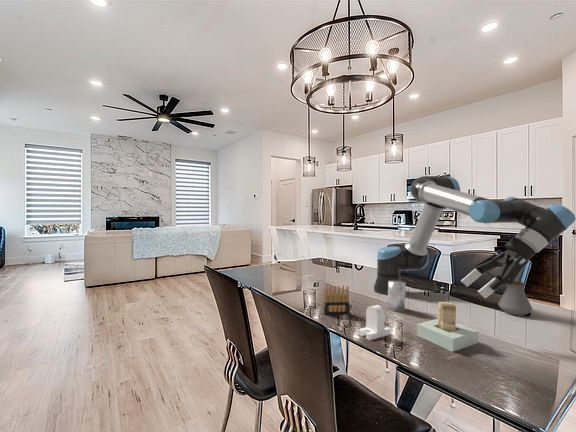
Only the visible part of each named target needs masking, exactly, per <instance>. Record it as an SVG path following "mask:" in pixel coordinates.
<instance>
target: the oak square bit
mask: <svg viewBox="0 0 576 432" xmlns="http://www.w3.org/2000/svg"><path fill="white" fill-rule="evenodd" d="M456 316H457V306H456V305H455V304H454V303H452V302H449V301H448V302H447V301H438V319H439V320H438V328H439V329H442V330H444V331H447V332H453V331H455V328H456V323H457V322H456V320H457V319H456V318H457V317H456Z"/></svg>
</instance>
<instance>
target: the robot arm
mask: <svg viewBox="0 0 576 432" xmlns="http://www.w3.org/2000/svg"><path fill="white" fill-rule="evenodd" d="M409 190H410V195H411V197H412V198H413V199H415V200H416V201H418V202H419V201H420V202H422V203H424V204H423V207H422V210H421V211H420V215H419V217H418V220H417V221H416V224H415V227H414V229H413V231H412V234H411V237H410V239H409V241H407V242H405V244H404V245H403V248H401V247H399V246H384V247H380V248H379V249H378V250H377V257H376V258H377V264H376V266H377V267H376V268H377V273H376V274H377V275H376V279H375V283H374V284H373V291H374V292H375V293H377V294H378V293H379V294H381V295H382V294H383V295H387V296H388V281H389V280H400V281H402V279H401V272H407V271H409V272H410V271H411V272H412V271H413V272H414V271H415V272H416V271H422V270H424V269H425V268H427V266H428V265H429V262H430V259H429V257H430V255H429V252H428V249H427V247H428V244H429V242H430V240H431V237H432V235H433V232H434V230H435V229H436V226H437V224H438V222H439V219H440V217H441V215H442V212H443V211H444V210H446V209H450V210H451V211H454V212H457V213H460V214H463V215H466V216H468V217H470V218H471V219H472V220H473V221H474V222H476V223H480V224H482V223H483V224H495V223H496V224H497V223H498V224H500V223H501V224H502V223H504V224H505V223H509V224H510V223H515V224H516V223H517V224H520V225H522V226H524V228H520V231H519V232H518V233H517V234H516V235H515V236H514V237H512V238H511V239H510V240H509V241H507V242H506V243H505V244H504V247H505V251H502V250H501V249H498V250H497V251H495V252H494V253H492V254H490V255H489V256H487V257H485V258H484V259H482V260H481V261H479V262H477V263H475V264H474V265H473V266H474V269H473V270H471V271H470V272H469V273H468V274H467V275H465V277H463V278H462V279H461V280H460V282H461V283H462V284H463V285H464V286H465V287H467V288H468V287H469V286H471V284H472V283H474V282H475V281H476V280H478V279H479V278H480V277H481V276H483V275H484V273H486V271H488V272H489V271H490V270H493V269H494V268H498V267H499V268H500V267H501V268H500V270H499V273H498V274H497V275H494V276H495V277H496V278H497V279H498V280H497V279H496V278H495V277H494V278H492V279H491V280H489V282H488V283H485V285H484V286H483V287H481V288H480V289H479V290H477V292H478V293H479V294H480V296H482V297H483V298H484V300H485V299H487V298H489V296H491V295H492V294H493V293H495V292H496V291H497V290H498V289H499V288H501V287H502V286H503V285H507V284H508V285H510V284H512V282H513V281H515V279H516V278H517V276H518V275H519V274H520V273H521V271H522V270H523V268H524V267H525V266H526V265H527V264H528V263H529V261H530V259H532V258H533V257H535V256H536V253H540V252H541V251H542V250H543V249H544V248H545V247H547V246H548V245H549V244H550V243H551V242H552V241H553V240H554V239H556V238H557V237H558V236H560V235H561V234H562V233H563V232H565V231H567V230H568V228H570V226H572V224H573V223H575V221H576V216H575V214H574V212H573V211H571V210H570V209H569V208H567V207H565V206H564V205H561V204H556V203H555V204H550V206H548V207H547V208H545V207H542V206H540V205H539V206H538V205H536V204H533V203H531V202H529V201H526V200H524V199H523V198H519V197H515V196H509V197H507V198H504V199H503V200H497V199H496V200H494V199H490V198H486V197H482V196H478V195H476V194H475V195H474V194H472V193H468V192H464V191H461V187H460V183H459V182H458V180H457V179H456V178H454V177H452V176H444V175H443V176H433V175H423V176H419V177H417V178H415V179H414V180H413V181H412V183H411V185H410V187H409ZM508 285H507V286H508Z"/></svg>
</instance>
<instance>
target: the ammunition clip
mask: <svg viewBox="0 0 576 432" xmlns="http://www.w3.org/2000/svg"><path fill="white" fill-rule="evenodd" d="M332 287H333V289H332ZM349 291H350V290H349V286H348V284H347V285H346V288H345V285H342V286H340V285H338V286H336V285H334V286H332V285H329V289H328V286H327V285H325V289H324V300H323V301H324V302H323V315H324V316H329V315H330V316H331V315H333V316H336V315H337V316H339V315H343V316H344V315H351V313H350V312H351V309H350V307H351V306H350V292H349Z"/></svg>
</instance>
